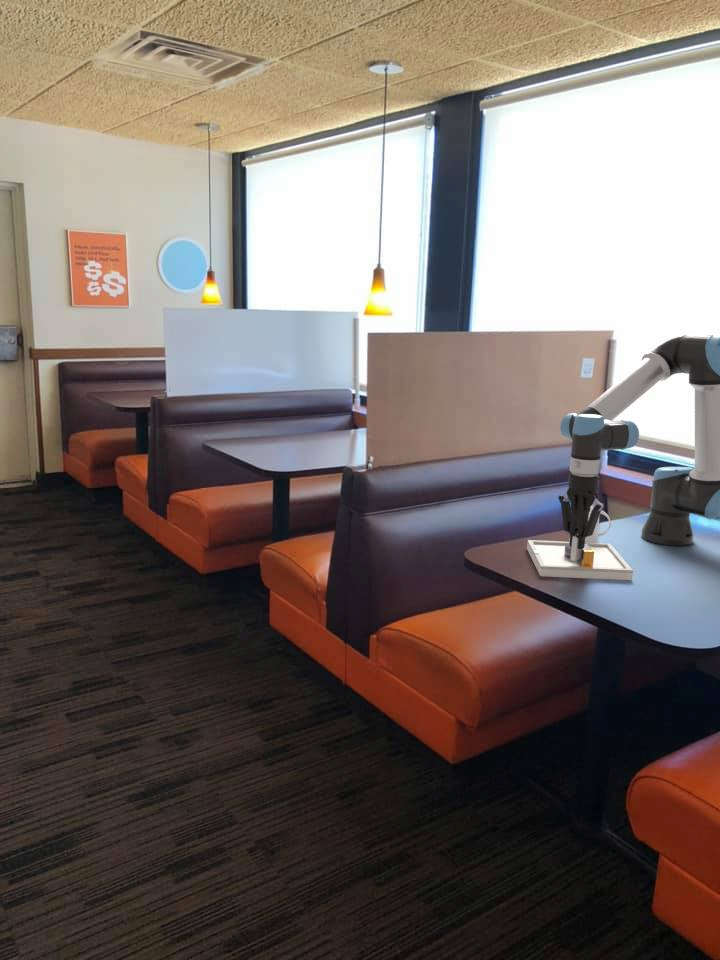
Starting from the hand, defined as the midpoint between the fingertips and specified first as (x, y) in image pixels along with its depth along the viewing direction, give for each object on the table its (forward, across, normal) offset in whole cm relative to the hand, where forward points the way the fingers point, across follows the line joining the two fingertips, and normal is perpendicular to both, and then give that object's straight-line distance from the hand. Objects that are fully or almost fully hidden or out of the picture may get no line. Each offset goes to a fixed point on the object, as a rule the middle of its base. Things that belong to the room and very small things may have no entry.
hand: (575, 559), depth 205 cm
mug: (+4, -13, +28) cm, 31 cm away
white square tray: (+4, -4, +7) cm, 9 cm away
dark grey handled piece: (+1, -2, +5) cm, 6 cm away
